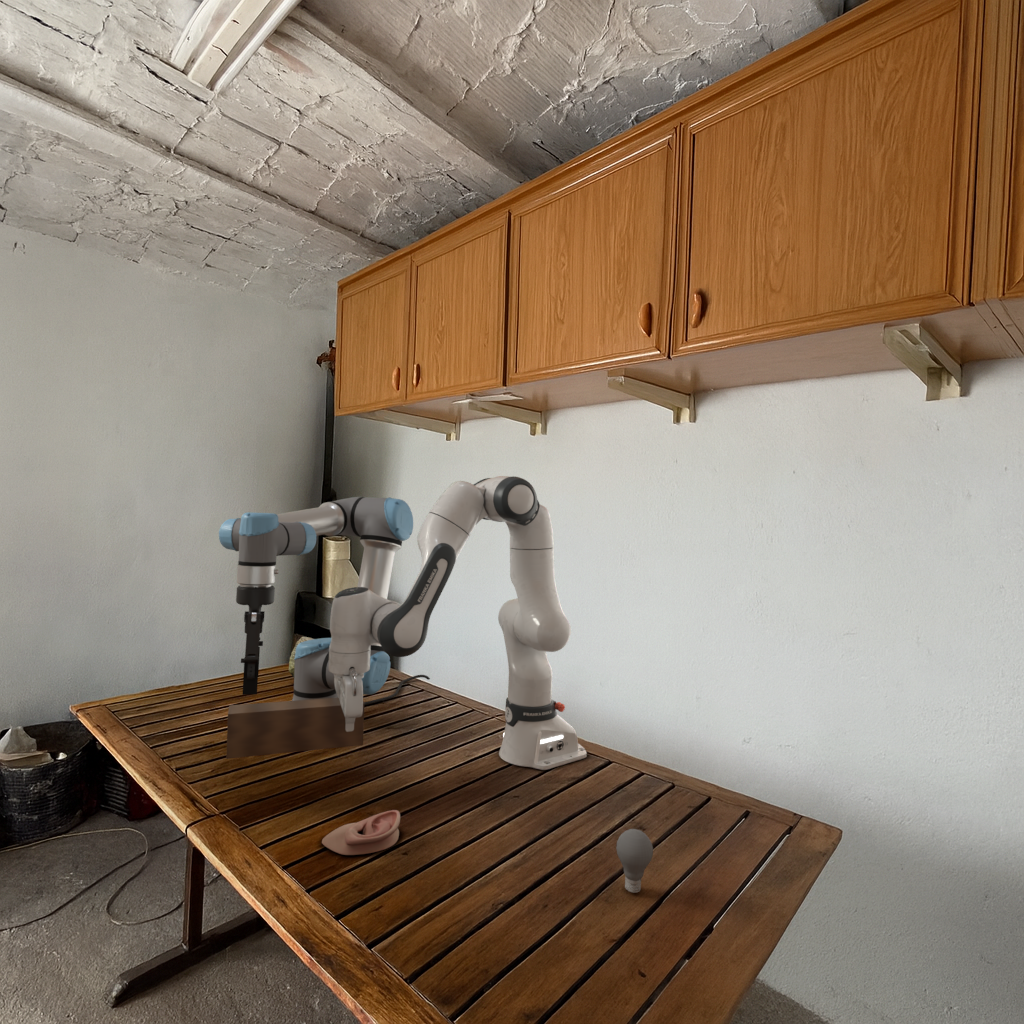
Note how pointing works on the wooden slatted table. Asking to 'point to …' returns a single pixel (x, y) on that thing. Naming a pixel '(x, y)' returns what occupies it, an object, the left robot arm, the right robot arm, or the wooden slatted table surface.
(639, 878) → the light bulb
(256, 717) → the bar
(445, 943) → the wooden slatted table surface
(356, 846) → the anatomical model
